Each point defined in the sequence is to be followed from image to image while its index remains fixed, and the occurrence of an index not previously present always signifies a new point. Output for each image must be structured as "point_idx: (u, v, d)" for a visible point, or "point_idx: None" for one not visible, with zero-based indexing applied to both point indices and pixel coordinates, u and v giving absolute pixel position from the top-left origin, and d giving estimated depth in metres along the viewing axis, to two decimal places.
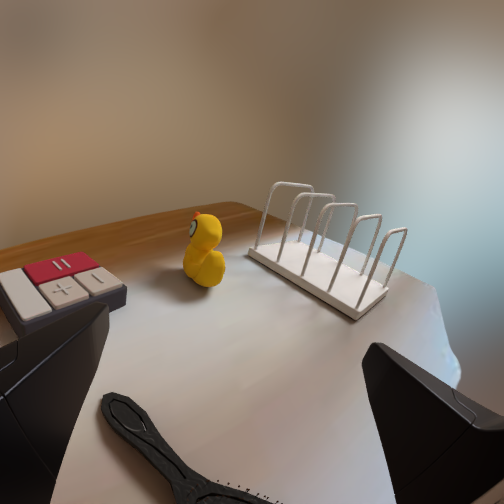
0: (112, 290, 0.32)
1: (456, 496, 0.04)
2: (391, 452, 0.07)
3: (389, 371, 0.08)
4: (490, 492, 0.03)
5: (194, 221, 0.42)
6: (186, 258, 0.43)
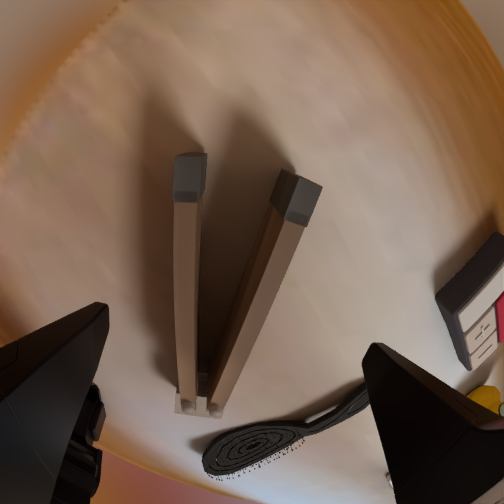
0: (470, 363, 0.27)
1: (456, 496, 0.04)
2: (391, 452, 0.07)
3: (389, 371, 0.08)
4: (490, 492, 0.03)
5: None
6: (488, 394, 0.31)
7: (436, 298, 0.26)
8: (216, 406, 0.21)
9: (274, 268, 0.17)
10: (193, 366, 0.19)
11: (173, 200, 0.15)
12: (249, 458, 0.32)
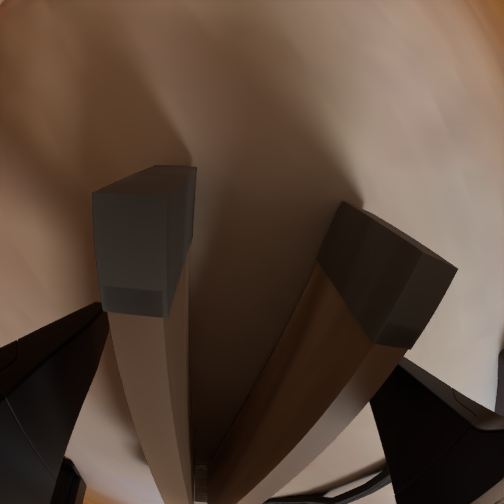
0: None
1: (456, 496, 0.04)
2: (391, 452, 0.07)
3: None
4: (490, 492, 0.03)
5: None
6: None
7: (500, 356, 0.16)
8: None
9: (334, 418, 0.07)
10: (187, 503, 0.10)
11: (105, 308, 0.05)
12: None
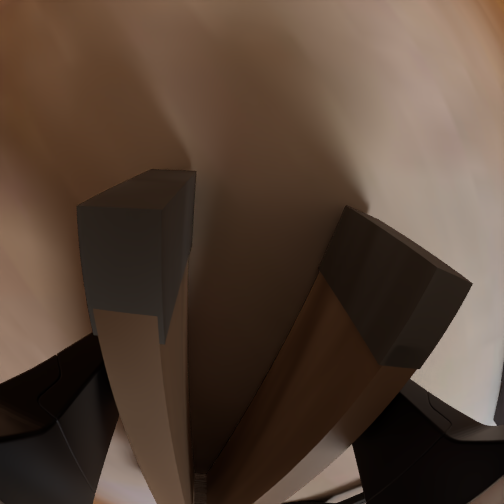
0: None
1: None
2: (362, 457, 0.07)
3: None
4: None
5: None
6: None
7: None
8: None
9: (336, 439, 0.07)
10: None
11: (95, 332, 0.05)
12: None
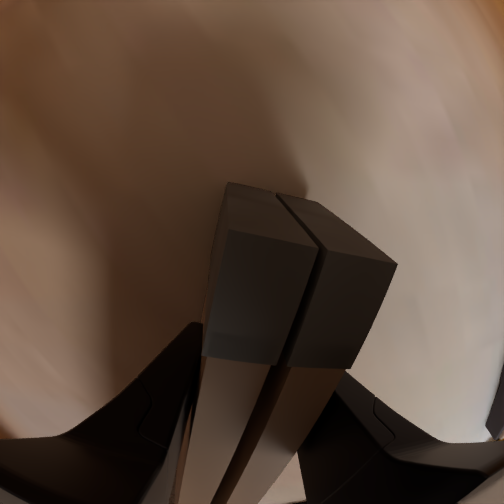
0: (501, 432, 0.17)
1: None
2: (306, 463, 0.07)
3: None
4: None
5: None
6: None
7: None
8: None
9: (275, 443, 0.06)
10: None
11: (205, 353, 0.05)
12: None
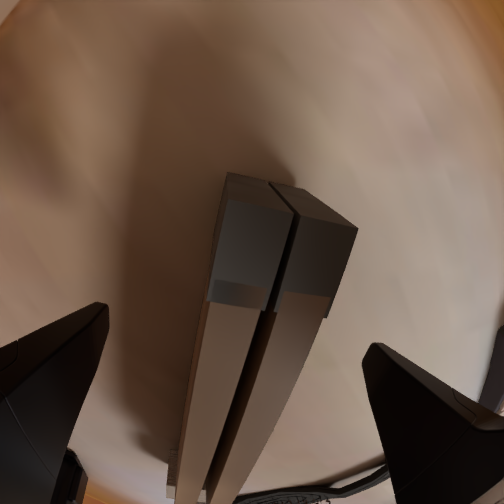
0: None
1: (456, 496, 0.04)
2: (391, 452, 0.07)
3: (389, 371, 0.08)
4: (490, 492, 0.03)
5: None
6: None
7: (499, 332, 0.16)
8: None
9: (267, 391, 0.08)
10: (200, 488, 0.11)
11: (209, 298, 0.07)
12: None
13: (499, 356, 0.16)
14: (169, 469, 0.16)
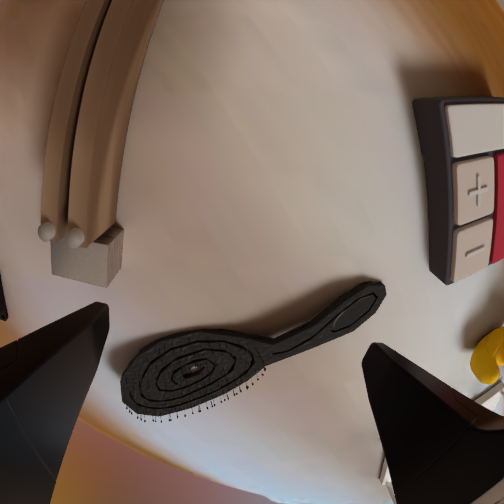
0: (451, 262, 0.20)
1: (456, 496, 0.04)
2: (391, 452, 0.07)
3: (389, 371, 0.08)
4: (490, 492, 0.03)
5: None
6: None
7: (414, 102, 0.17)
8: (75, 228, 0.14)
9: (117, 4, 0.10)
10: (61, 151, 0.12)
11: None
12: (187, 395, 0.25)
13: (425, 131, 0.18)
14: None
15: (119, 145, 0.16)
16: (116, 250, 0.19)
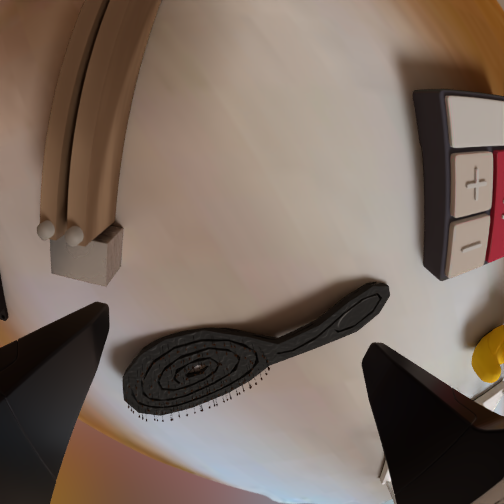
0: (446, 256, 0.20)
1: (456, 496, 0.04)
2: (391, 452, 0.07)
3: (389, 371, 0.08)
4: (490, 492, 0.03)
5: None
6: None
7: (414, 93, 0.17)
8: (74, 226, 0.14)
9: (116, 3, 0.10)
10: (60, 150, 0.12)
11: None
12: (189, 394, 0.25)
13: (424, 121, 0.17)
14: None
15: (118, 143, 0.16)
16: (116, 249, 0.19)
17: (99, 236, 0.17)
